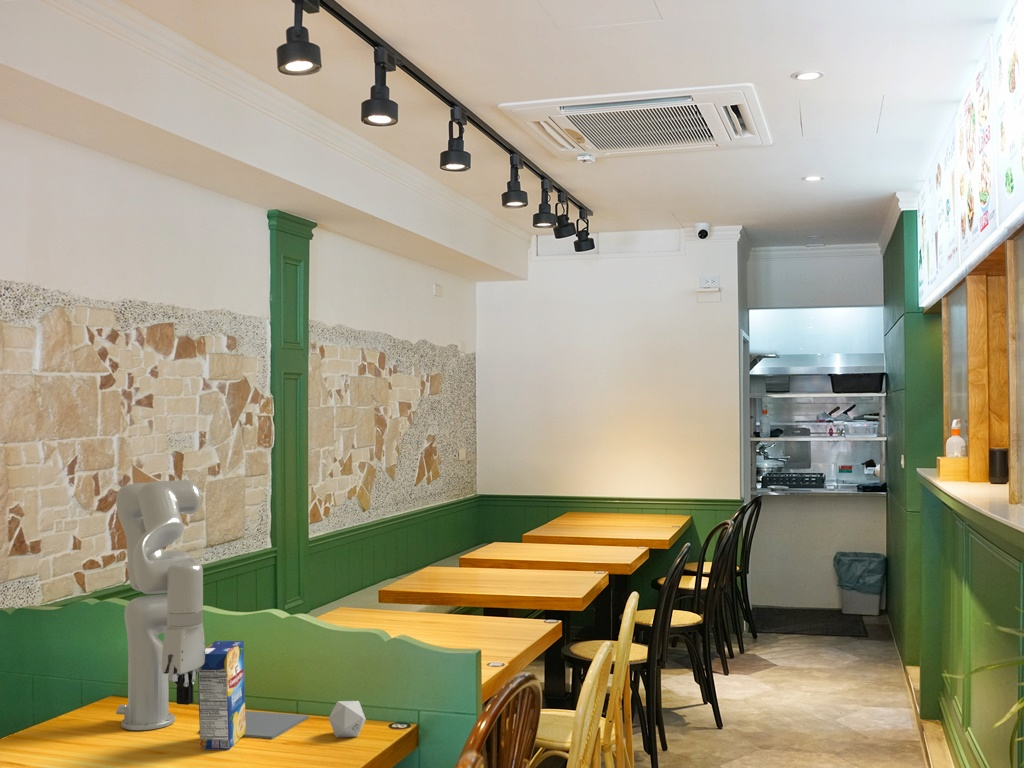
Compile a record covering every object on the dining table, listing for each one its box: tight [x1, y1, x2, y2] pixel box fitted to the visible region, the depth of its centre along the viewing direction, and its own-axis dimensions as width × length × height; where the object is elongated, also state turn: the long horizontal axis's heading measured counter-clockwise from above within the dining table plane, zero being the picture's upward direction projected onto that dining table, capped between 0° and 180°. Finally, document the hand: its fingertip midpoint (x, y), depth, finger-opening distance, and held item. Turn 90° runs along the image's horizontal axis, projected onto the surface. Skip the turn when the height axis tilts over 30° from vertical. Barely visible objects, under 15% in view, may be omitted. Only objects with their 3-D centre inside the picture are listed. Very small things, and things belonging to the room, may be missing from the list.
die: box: [328, 700, 367, 738], centre depth 237 cm, size 8×9×10 cm
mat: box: [198, 710, 309, 740], centre depth 246 cm, size 20×18×1 cm
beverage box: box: [197, 640, 246, 751], centre depth 233 cm, size 7×11×22 cm, turn 175°
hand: (184, 703), depth 219 cm, fingers closed
